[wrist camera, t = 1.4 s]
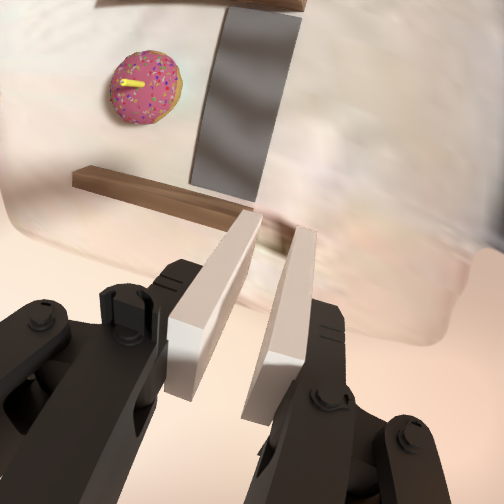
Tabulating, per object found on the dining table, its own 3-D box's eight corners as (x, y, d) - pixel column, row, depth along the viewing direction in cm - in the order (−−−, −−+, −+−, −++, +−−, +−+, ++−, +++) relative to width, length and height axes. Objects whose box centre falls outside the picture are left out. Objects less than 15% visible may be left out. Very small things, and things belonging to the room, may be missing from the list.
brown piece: (121, -13, 27) (103, -20, 24) (307, -3, 25) (305, -15, 22) (90, 178, 41) (72, 186, 37) (249, 223, 39) (242, 236, 35)
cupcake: (190, 46, 30) (135, 28, 20) (202, 113, 34) (150, 121, 23) (128, 66, 33) (63, 63, 22) (139, 128, 36) (77, 144, 26)
